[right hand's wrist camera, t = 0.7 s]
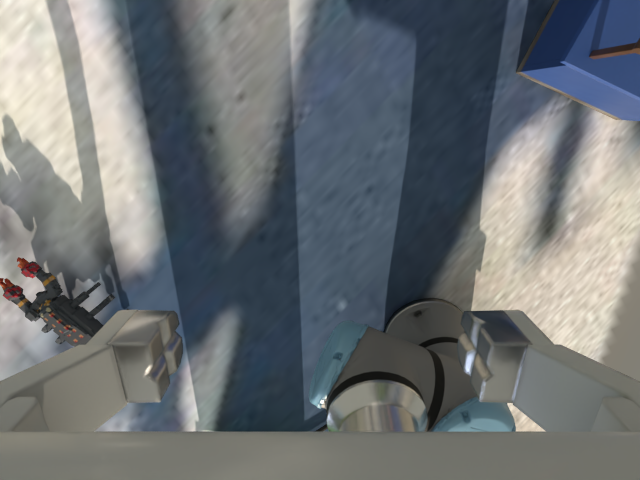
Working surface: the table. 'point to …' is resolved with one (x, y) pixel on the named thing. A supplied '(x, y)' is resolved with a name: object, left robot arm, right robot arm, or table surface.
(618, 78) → the lid
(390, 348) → the left robot arm
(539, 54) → the chest
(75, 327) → the toy
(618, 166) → the table surface
